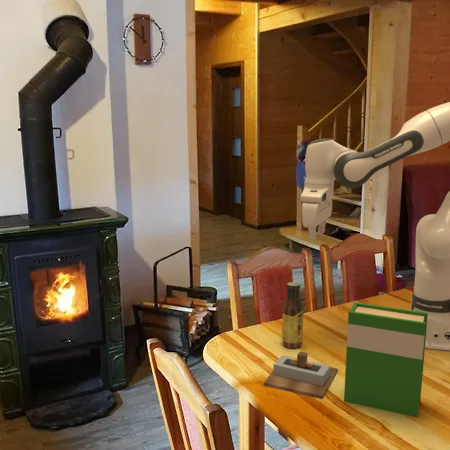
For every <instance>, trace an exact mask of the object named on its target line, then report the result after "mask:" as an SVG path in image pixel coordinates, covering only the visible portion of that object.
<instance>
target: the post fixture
mask: <svg viewBox="0 0 450 450" xmlns="http://www.w3.org/2000/svg"><path fill="white" fill-rule="evenodd" d="M294 358H295V357H293V358H292V359H291V363H294V364H297V367H298V368H302V369H306V370H307V366H308V367H313V362H314V361H311V362H309V361H310V360H308V352H305V351H299V352H298V353H297V355H296V358H297V359H294ZM337 373H338V368H336V367H332V366H330V377H329V378H328V379H327V381H326V382H325V384H324V385H323V387H322V386H318V385H314V384H310V383H306V382H302V381H298V380H294V379H290V378H286V377H282V376H278V375H274V374H273V371H271V373H270V374H269V375H268V376H267V378H266V379H265V381H264V382H263V386H265V387H270V388H274V389H279V390H283V391H287V392H291V393H296V394H301V395H305V396H309V397H314V398H317V399H321V400H322V399H324V398H325V395H326V393H327V391H328V390H329V388H330V386H331V385H332V382H333V381H334V378H335V376H337Z"/></svg>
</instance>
